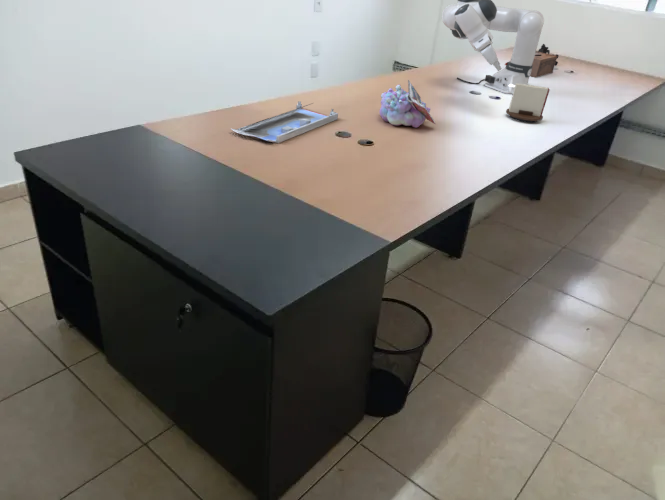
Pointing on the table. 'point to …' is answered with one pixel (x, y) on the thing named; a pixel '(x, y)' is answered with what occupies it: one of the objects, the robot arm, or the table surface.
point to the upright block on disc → (528, 102)
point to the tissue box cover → (543, 64)
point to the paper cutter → (287, 124)
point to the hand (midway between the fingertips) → (499, 67)
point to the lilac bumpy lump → (404, 107)
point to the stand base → (523, 120)
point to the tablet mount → (546, 51)
